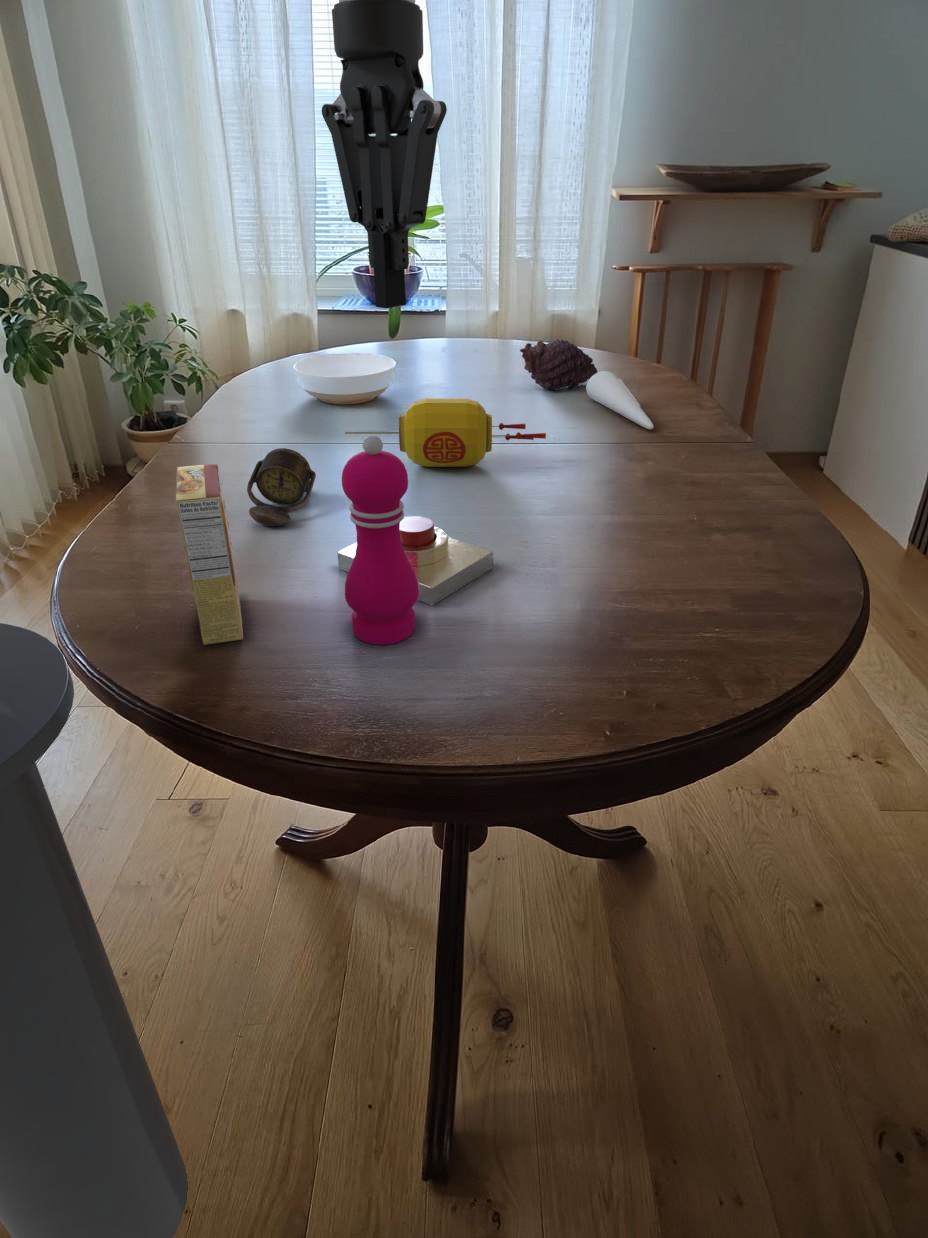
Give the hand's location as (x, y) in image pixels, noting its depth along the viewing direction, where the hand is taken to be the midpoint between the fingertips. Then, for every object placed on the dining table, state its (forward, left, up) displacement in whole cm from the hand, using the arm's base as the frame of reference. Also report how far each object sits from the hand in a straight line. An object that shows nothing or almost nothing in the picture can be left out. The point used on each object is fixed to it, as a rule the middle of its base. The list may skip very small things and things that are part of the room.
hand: (390, 305), depth 77 cm
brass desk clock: (-24, +2, -29) cm, 37 cm away
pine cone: (-27, +78, -29) cm, 87 cm away
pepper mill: (+8, -12, -29) cm, 32 cm away
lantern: (-17, +29, -29) cm, 44 cm away
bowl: (-56, +47, -29) cm, 79 cm away
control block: (+2, 0, -28) cm, 28 cm away
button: (+2, 0, -25) cm, 25 cm away
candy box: (-6, -21, -29) cm, 36 cm away
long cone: (-8, +68, -29) cm, 74 cm away
